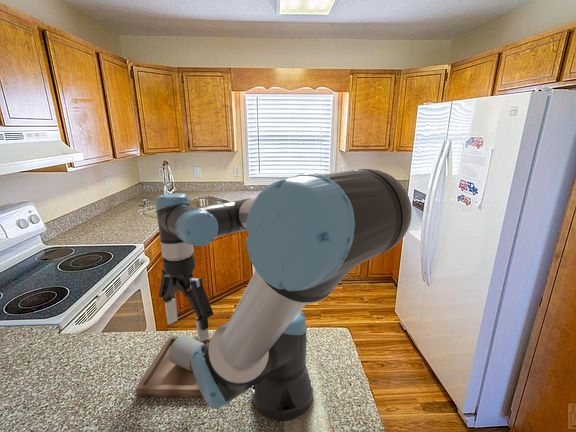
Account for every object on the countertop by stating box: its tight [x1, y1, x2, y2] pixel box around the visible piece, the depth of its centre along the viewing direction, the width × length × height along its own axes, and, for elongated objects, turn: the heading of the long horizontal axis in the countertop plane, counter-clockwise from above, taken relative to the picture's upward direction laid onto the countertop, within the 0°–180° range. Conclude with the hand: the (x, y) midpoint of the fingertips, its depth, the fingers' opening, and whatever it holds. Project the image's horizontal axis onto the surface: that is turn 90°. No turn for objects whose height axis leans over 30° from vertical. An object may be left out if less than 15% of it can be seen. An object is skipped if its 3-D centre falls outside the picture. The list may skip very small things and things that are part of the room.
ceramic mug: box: [169, 334, 204, 371], centre depth 82 cm, size 11×8×8 cm
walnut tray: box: [135, 336, 212, 399], centre depth 81 cm, size 20×20×2 cm
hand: (187, 330), depth 79 cm, fingers open, 13 cm apart
